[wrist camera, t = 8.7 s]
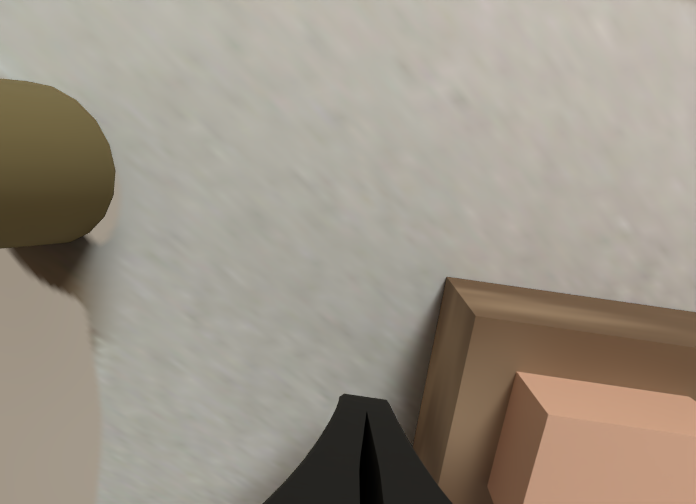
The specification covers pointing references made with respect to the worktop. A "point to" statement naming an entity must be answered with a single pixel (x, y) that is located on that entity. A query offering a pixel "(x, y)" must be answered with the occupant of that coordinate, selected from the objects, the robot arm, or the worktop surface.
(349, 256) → the worktop surface
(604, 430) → the terracotta tile
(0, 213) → the olive tall rounded piece
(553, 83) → the worktop surface
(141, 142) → the worktop surface
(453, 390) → the walnut board
